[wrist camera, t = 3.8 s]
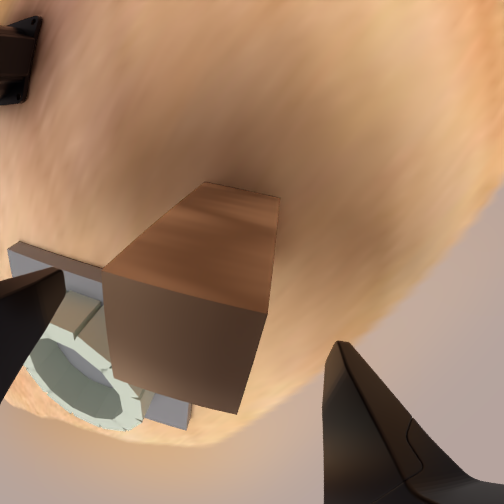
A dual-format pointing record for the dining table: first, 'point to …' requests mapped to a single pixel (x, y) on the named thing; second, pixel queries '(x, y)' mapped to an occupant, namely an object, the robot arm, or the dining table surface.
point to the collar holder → (87, 353)
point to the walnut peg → (194, 297)
